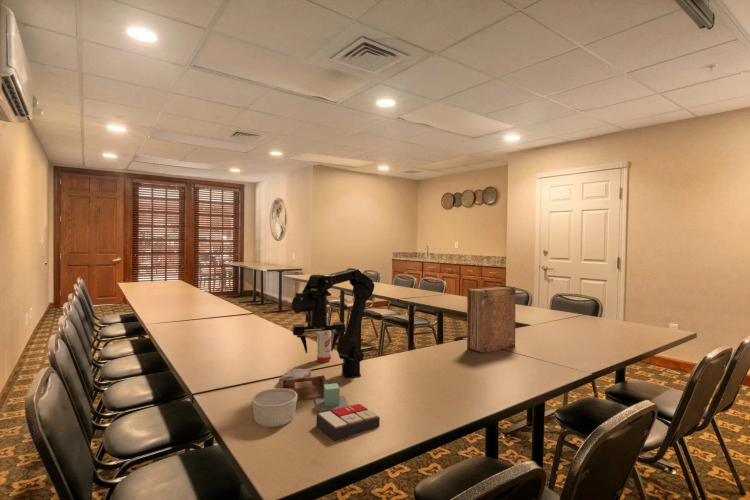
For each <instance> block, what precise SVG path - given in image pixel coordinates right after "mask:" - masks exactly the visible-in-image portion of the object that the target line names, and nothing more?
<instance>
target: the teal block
mask: <svg viewBox="0 0 750 500" xmlns="http://www.w3.org/2000/svg"><path fill="white" fill-rule="evenodd" d="M340 389H341V388H340V385H339V384H338V383H337V382H336V383H327V384H325V385H324V403H325V406H326V407H327V406H336V405H340V396H341V393H340Z"/></svg>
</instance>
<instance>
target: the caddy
mask: <svg viewBox="0 0 750 500" xmlns="http://www.w3.org/2000/svg"><path fill="white" fill-rule="evenodd" d="M325 384H328V381H327V380H326V377H325V375H316V376H315V375H314V376H311V377H303V378H292V379H281V380H280V384H279V388H284V389H290V390H293V391H295V392H296V393H297V401H296V402H298V401H306V400H307V401H308V400H315V399H317V398H324V385H325Z"/></svg>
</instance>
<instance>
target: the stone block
mask: <svg viewBox="0 0 750 500" xmlns="http://www.w3.org/2000/svg"><path fill="white" fill-rule="evenodd" d="M311 371H312V370H311V369H306V368H305V369H304V368H295V369H290V370H287V372H285V373H284V374H283V375H282V376H281V377H279V379H278V382H279V383H278V384H279V385H280V380H281V379H292V378H303V377H312V372H311Z"/></svg>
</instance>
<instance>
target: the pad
mask: <svg viewBox="0 0 750 500" xmlns="http://www.w3.org/2000/svg"><path fill="white" fill-rule="evenodd" d="M314 402H315V407H316V410H317V413H323V412H327V411H331V410H333V409H338V408H342V407H347V406H350V405H349V403H348V402H347V400H346V398H345V395H340V405H336V406H327V407H326V406H325V403H324V398H317V399H314Z"/></svg>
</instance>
